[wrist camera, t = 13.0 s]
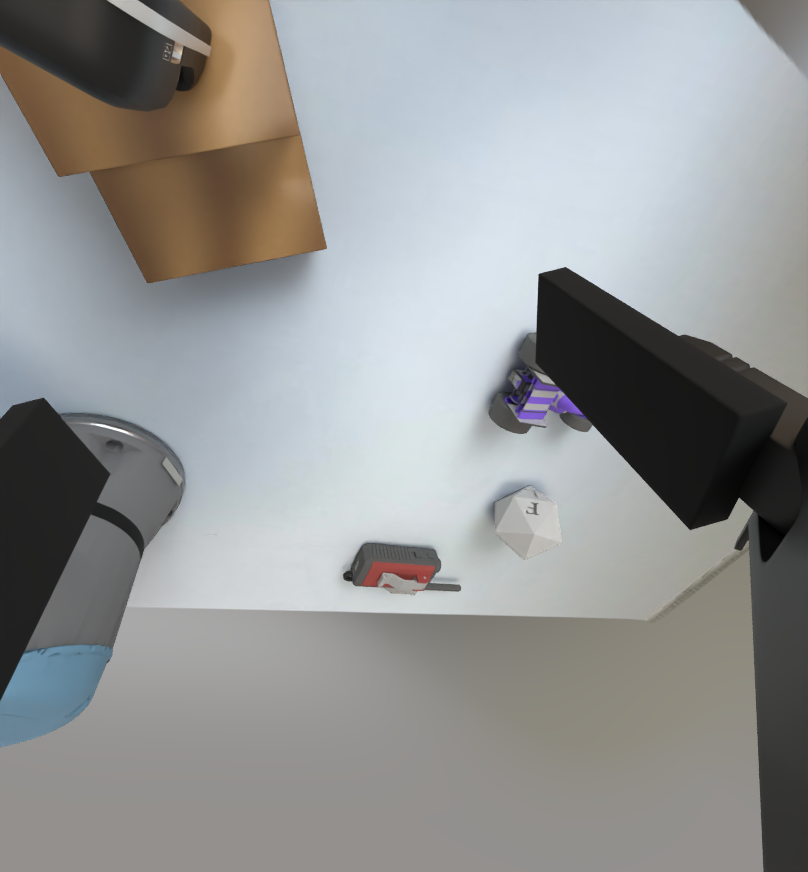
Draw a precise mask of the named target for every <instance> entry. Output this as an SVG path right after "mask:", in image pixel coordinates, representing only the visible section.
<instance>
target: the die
mask: <svg viewBox="0 0 808 872" xmlns="http://www.w3.org/2000/svg"><path fill="white" fill-rule="evenodd" d="M495 533H496V534H497V535H498V536H499V537H500V539H501V540H502V541H504V542H505V543H506V544H507V545H508V546H509V547H510V548H511V549H512V550H513V551H514V552H516V553H517V554H518V555H519V556H520V557H521V558H522V559H523V560H527V559H529V558H531V557H533V556H535V555H538V554H540V553H542V552H544V551H546V550H548V549H551V548H553V547H555V546H557V545H559V544H561V543H562V538H561V531H560V525H559V518H558V512H557V506H556V502H554V501H552V500H551V499H549V498H548V497H546V496H545V495H543V494H542V493H540V492H539V491H537V490H536V489H534V488H533V487H531V486H530V485H529V486H527V487H525V488H523V489H521V490H519V491H517V492H515V493H513V494H511V495H509V496H507V497H505V498H503V499H501V500H499V501H497V502H495Z"/></svg>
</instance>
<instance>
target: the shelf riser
mask: <svg viewBox="0 0 808 872" xmlns="http://www.w3.org/2000/svg"><path fill="white" fill-rule="evenodd" d="M179 1H181V2H182V3H183V4H184V5H185V6H186V7H187V8H188V9H190V10H191V11H192V12H193V13H194V14H195V15H196V16H197V17H199V18H200V19H201V20H202V21H203V22H205V23H206V24H207V25H208V26H209V28H210V29H211V33H212V38H211V43H210V46H211V47H212V48H211V52H210V56H209V57H208V56H207V59H206V63H205V67H204V71H203V73H202V75H201V76H200V78H199V81H198V82H197V84H196V85H195V86H194V87H193V88H192V89H190V90H188V91H177V90H175V93H174V95H173V98H172V100H171V101H170V102H169V104H168V105H167V106H166V107H165V108H161V109H157V110H153V111H149V112H147V111H137V110H130V109H123V108H118V107H114V106H111V105H109V104H107V103H104V102H102V101H100V100H98V99H96V98H94V97H92V96H90V95H88V94H87V93H85V92H83V91H81V90H79V89H78V88H76V87H74V86H72V85H70V84H69V83H67V82H65V81H63V80H61V79H59V78H58V77H56V76H54V75H52V74H50V73H49V72H47V71H45V70H43V69H41V68H40V67H38V66H36V65H34V64H32V63H31V62H29V61H27V60H25V59H23V58H22V57H20V56H18V55H16V54H14V53H12V52H11V51H9V50H7V49H5V48H4V47H2V46H0V74H1V76H2V78H3V79H4V81H5V83H6V85H7V86H8V88H9V90H10V92H11V94H12V95H13V97H14V99H15V101H16V102H17V104H18V106H19V108H20V109H21V111H22V113H23V115H24V117H25V118H26V120H27V122H28V124H29V125H30V127H31V129H32V131H33V133H34V134H35V136H36V138H37V140H38V141H39V143H40V145H41V147H42V149H43V150H44V152H45V154H46V156H47V157H48V159H49V161H50V163H51V165H52V166H53V168H54V170H55V172H56V173H57V175H58V176H59V177H62V176H68V175H73V174H79V173H85V172H90V174H91V176H92V178H93V180H94V182H95V183H96V185H97V187H98V189H99V191H100V193H101V195H102V197H103V199H104V201H105V203H106V205H107V207H108V209H109V210H110V212H111V214H112V216H113V218H114V220H115V222H116V224H117V226H118V228H119V230H120V232H121V234H122V236H123V237H124V239H125V241H126V243H127V245H128V247H129V249H130V251H131V253H132V255H133V257H134V259H135V261H136V263H137V264H138V266H139V268H140V270H141V272H142V274H143V276H144V278H145V280H146V282H147V283H153V282H158V281H163V280H168V279H173V278H179V277H184V276H189V275H194V274H199V273H205V272H210V271H215V270H220V269H225V268H230V267H236V266H241V265H246V264H251V263H256V262H262V261H267V260H272V259H277V258H282V257H287V256H293V255H298V254H303V253H308V252H313V251H318V250H324V249H327V246H326V242H325V238H324V233H323V229H322V225H321V220H320V216H319V212H318V208H317V203H316V199H315V195H314V190H313V186H312V182H311V177H310V173H309V169H308V164H307V160H306V156H305V152H304V147H303V143H302V139H301V134H300V131H299V127H298V123H297V118H296V114H295V110H294V106H293V101H292V97H291V93H290V88H289V84H288V80H287V75H286V71H285V67H284V63H283V58H282V54H281V50H280V45H279V41H278V37H277V32H276V28H275V24H274V20H273V15H272V11H271V7H270V2H269V0H179Z"/></svg>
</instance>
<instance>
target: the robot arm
mask: <svg viewBox="0 0 808 872" xmlns="http://www.w3.org/2000/svg"><path fill="white" fill-rule="evenodd" d="M535 363H536V364H537V365H538V366H539V367H540V368H541V369H542V370H543V372H544V373H545V374H546V375H547V376H548V377H549V378H550V379H551V380H552V381H553V382H554V383H555V385H556V386H557V387H558V388H559V389H560V390H561V391H562V392H563V393H564V394H565V395H566V396H567V397H568V399H569V400H570V401H571V402H572V403H573V404H574V405H575V406H576V407H577V408H578V409H579V410H580V412H581V413H582V414H583V415H584V416H585V417H586V418H587V419H588V420H589V421H590V422H591V423H592V425H593V426H594V427H595V428H596V429H597V430H598V431H599V432H600V433H601V434H602V435H603V436H604V438H605V439H606V440H607V441H608V442H609V443H610V444H611V445H612V446H613V447H614V448H615V449H616V450H617V452H618V453H619V454H620V455H621V456H622V457H623V458H624V459H625V460H626V461H627V462H628V463H629V465H630V466H631V467H632V468H633V469H634V470H635V471H636V472H637V473H638V474H639V475H640V476H641V478H642V479H643V480H644V481H645V482H646V483H647V484H648V485H649V486H650V487H651V488H652V489H653V490H654V492H655V493H656V494H657V495H658V496H659V497H660V498H661V499H662V500H663V501H664V502H665V503H666V505H667V506H668V507H669V508H670V509H671V510H672V511H673V512H674V513H675V514H676V515H677V516H678V518H679V519H680V520H681V521H682V522H683V523H684V524H685V525H686V526H687V527H688V528H689V529H690V530H692V529H695V528H699V527H702V526H706V525H709V524H713V523H716V522H720V521H723V520H727V519H728V517H729V516H730V514H731V512H732V510H733V508H734V506H735V504H736V502H737V500H738V498H740V499H741V500H743V501H744V502H745V503H746V504H747V505H748V506H749V507H750V508H752V509H753V510H754V511H753V513H752V515H751V516H750V518H749V520H748V522H747V523H746V525H745V527H744V529H743V530H742V532H741V534H740V536H739V537H738V539H737V541H736V545H735V548H734V549H737V550H742V549H743V547H744V545H745V544H746V542H747V541H748V540H749V554H750V576H751V599H752V621H753V642H754V643H753V644H754V666H755V689H756V710H757V734H758V756H759V779H760V799H761V800H760V801H761V822H762V823H761V824H762V844H763V845H762V846H763V868H764V872H808V398H806V397H804V396H803V395H801V394H799V393H797V392H796V391H794V390H792V389H791V388H789V387H787V386H785V385H784V384H782V383H780V382H778V381H777V380H775V379H773V378H772V377H770V376H768V375H766V374H765V373H763V372H761V371H759V370H758V369H756V368H750V366H749V364H747V363H746V362H744V361H742V360H741V359H739V358H737V357H735V358H733V357H732V354H730V353H728V352H727V351H725V350H723V349H722V348H720V347H718V346H716V345H715V344H713V343H711V342H708V341H704V340H701V339H698V338H694V337H691V336H688V335H681V336H677V335H676V334H674V333H672V332H671V331H669V330H668V329H666V328H664V327H663V326H661V325H659V324H658V323H656V322H654V321H653V320H651V319H650V318H648V317H646V316H645V315H643V314H641V313H640V312H638V311H637V310H635V309H633V308H632V307H630V306H628V305H627V304H625V303H623V302H622V301H620V300H619V299H617V298H615V297H614V296H612V295H610V294H609V293H607V292H606V291H604V290H602V289H601V288H599V287H597V286H596V285H594V284H592V283H591V282H589V281H588V280H586V279H584V278H583V277H581V276H579V275H578V274H576V273H574V272H573V271H571V270H570V269H568V268H566V267H564V268H560V269H556V270H552V271H548V272H544V273H540V274H539V279H538V305H537V331H536V357H535ZM184 486H185V475H184V471H183V468H182V465H181V463H180V461H179V459H178V458H177V456H176V455H175V454H174V452H173V451H172V450H171V449H170V448H169V447H168V446H167V445H166V444H165V443H164V442H163V441H161V440H160V439H159V438H157V437H156V436H154V435H153V434H151V433H150V432H148V431H146V430H144V429H142V428H140V427H138V426H136V425H134V424H131V423H129V422H126V421H123V420H120V419H116V418H112V417H108V416H102V415H96V414H85V413H70V414H60V415H58V413H57V412H56V411H55V410H54V409H53V408H52V407H51V405H50V404H49V403H48V402H47V401H46V400H45V399H44V398H41V399H37V400H33V401H29V402H25V403H21V404H17V405H13V406H12V407H11V408H10V409H9V410H8V411H7V412H6V414H5V415H4V416H3V417H2V418H1V419H0V747H4V746H8V745H12V744H16V743H20V742H24V741H27V740H31V739H34V738H36V737H39V736H42V735H45V734H48V733H50V732H52V731H54V730H56V729H58V728H60V727H62V726H64V725H66V724H67V723H69V722H70V721H72V720H73V719H74V718H76V717H77V716H78V715H79V714H80V713H81V712H82V711H83V710H84V709H85V708H86V707H87V706H88V704H89V703H90V701H91V700H92V698H93V696H94V693H95V690H96V688H97V685H98V683H99V680H100V678H101V676H102V674H103V671H104V669H105V666H106V664H107V663H108V662H109V661H110V659H111V657H112V652H113V650H112V649H113V646H114V643H115V640H116V636H117V633H118V630H119V627H120V624H121V621H122V617H123V614H124V611H125V608H126V605H127V602H128V598H129V595H130V592H131V589H132V586H133V582H134V579H135V576H136V573H137V570H138V567H139V563H140V560H141V558H142V555H143V551H144V549H145V547H146V546H147V545H148V544H149V543H150V541H151V540H152V539H153V538H154V536H155V535H156V534H157V532H158V531H159V529H160V527H161V526H162V525H164V524H165V523H166V522H167V521H168V520H169V519H170V518H171V516H172V515H173V514H174V512H175V511H176V509H177V507H178V506H179V504H180V501H181V498H182V494H183V491H184Z"/></svg>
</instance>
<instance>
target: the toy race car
mask: <svg viewBox="0 0 808 872" xmlns="http://www.w3.org/2000/svg"><path fill="white" fill-rule="evenodd" d="M518 355H519V358H520V359H521V360H522V361H523V362H524V363H525V364H527V367H526V369H525V370H518V369H514V370H513V371H512V373H511V374H510V377H509V380H510V382H511V383H512V384H513V386H514V387H515V389H514V391H513V393H509V392H500V393H498V394H497V396H496V398H495V400H494V402H493V403H492V405H491V407H490V409H489V416H490V418H491V419H492V420H493V421H494V422H495V423H496V424H497V425H498V426H500V427H501V428H503V429H505V430H507V431H510V432H513V433H517V434H524V433H527V432H528V431H529V429H530V428H531V426H537V427H543V428H546V427H547V425H548V424H547V423H546V421H545V420H544V419H543V418H544V416H545V415H546V413H547V409H550V410H552V411H554V412H557V413H561V414H560V418H561V419H562V421H563V422H564V423H565V424H567V425H568V426H570V427H571V428H573V429H575V430H578V431H582V432H587V431H589V430H590V428H591V427H592V423H591V422H590V421H589V420H588V419H587V418H586V417H585V416H584V415H583V414H582V413H581V412H580V410H579V409H578V408H577V407H576V406H575V405H574V404H573V403H572V402H571V401H570V400H569V399H568V397H567V396H566V395H565V394H564V393H563V392H562V391H561V390H560V389H559V388H558V387H557V386H556V385H555V383H554V382H553V381H552V380H551V379H550V378H549V377H548V376H547V375H546V374H545V373H544V372H543V370H542V369H541V368H540V367H539V366H538V365H537V364H536V363H535V357H536V333H530V334H528V336H527V338H526V340H525V342H524V344H523V345H522V347H521V349H520V351H519V354H518ZM527 369H529V370H530V371H527ZM516 389H517V390H519V391H520V392H521V395H520V396H519V395H516V394H514V393H515V391H516ZM524 396H525V397H524Z"/></svg>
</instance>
